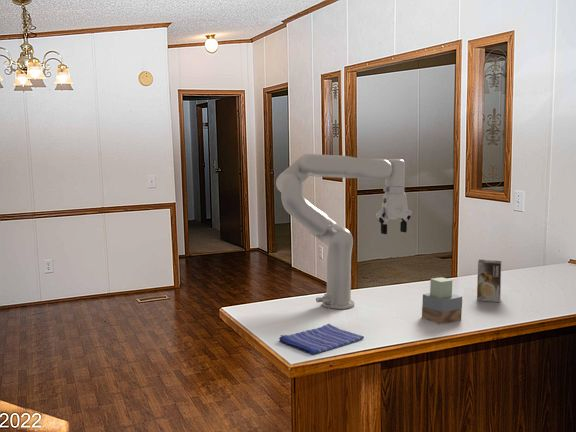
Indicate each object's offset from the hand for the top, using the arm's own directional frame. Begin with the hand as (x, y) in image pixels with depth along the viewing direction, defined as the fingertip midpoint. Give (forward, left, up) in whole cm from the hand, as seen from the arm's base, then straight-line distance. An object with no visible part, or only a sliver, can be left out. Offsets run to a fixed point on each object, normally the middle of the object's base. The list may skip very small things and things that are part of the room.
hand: (393, 232), depth 247 cm
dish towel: (-50, -27, -29) cm, 64 cm away
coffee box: (+37, -16, -28) cm, 49 cm away
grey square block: (+2, -27, -24) cm, 36 cm away
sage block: (+2, -27, -20) cm, 33 cm away
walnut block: (+2, -27, -29) cm, 39 cm away
